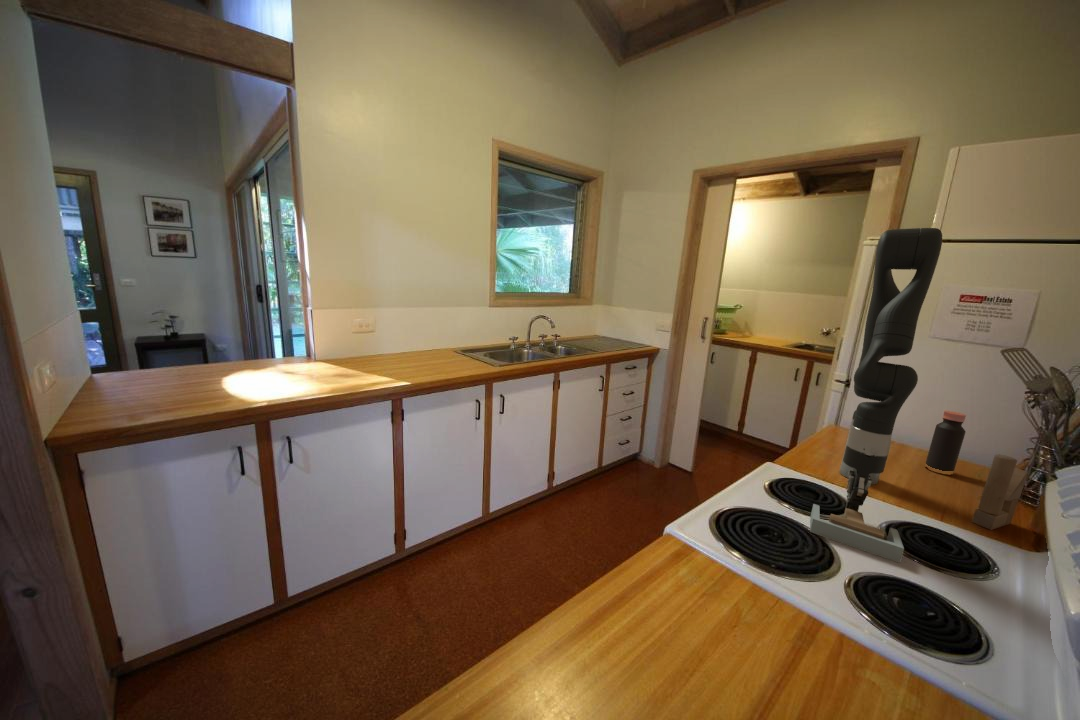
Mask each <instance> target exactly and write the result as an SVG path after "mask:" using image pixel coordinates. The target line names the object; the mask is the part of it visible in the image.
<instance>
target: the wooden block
mask: <svg viewBox="0 0 1080 720" xmlns="http://www.w3.org/2000/svg"><path fill="white" fill-rule="evenodd" d="M1017 463H1018V460H1017V458H1015V457H1012V456H1008V455H1005V454H1000V453H999V454H997V453H996V454H995V455H994V457H993V460H992V464H991V466H990V469H989V471H988V475H987V478H986V482H985V485H984V488H983V492H982V493H981V494H982V495H981V496H980V497H981V498H980V501H979V503H978V508H977V509H975V510H974V514H973V517H972V519H971V523H973V524H976V525H978V526H980V527H983V528H985V529H987V530H990V531H993V530H995V529H997V528H1002V527H1004V526H1008V525H1010V524H1012V522H1013V518H1014V515H1015V513H1016V512H1015V511H1016V509H1017V506H1018V504H1019V499H1020V498H1021V495H1022V493H1023V489H1024V487H1025V484H1026V480H1027V477H1028V474H1029V471H1026V470H1023V469H1020V468H1019V467H1018V468H1017V467H1016V466H1017Z"/></svg>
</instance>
